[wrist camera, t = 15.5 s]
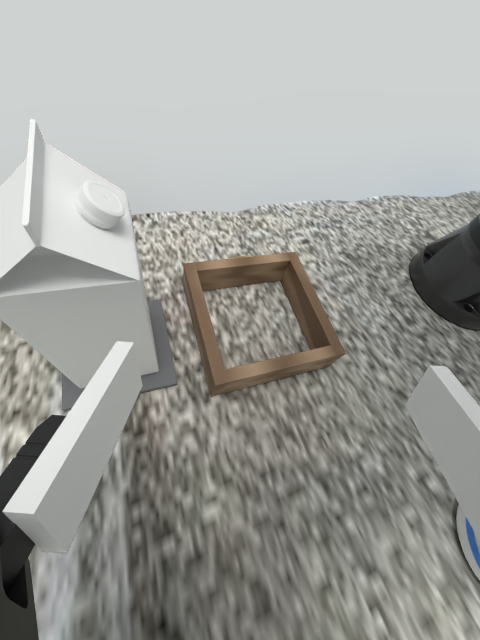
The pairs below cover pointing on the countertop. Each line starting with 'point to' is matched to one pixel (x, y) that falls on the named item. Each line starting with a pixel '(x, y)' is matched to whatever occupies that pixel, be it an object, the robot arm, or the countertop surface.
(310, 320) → the wooden square frame
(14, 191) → the milk carton
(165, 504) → the countertop surface
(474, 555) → the supplement tub
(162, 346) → the rubber mat
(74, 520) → the robot arm
